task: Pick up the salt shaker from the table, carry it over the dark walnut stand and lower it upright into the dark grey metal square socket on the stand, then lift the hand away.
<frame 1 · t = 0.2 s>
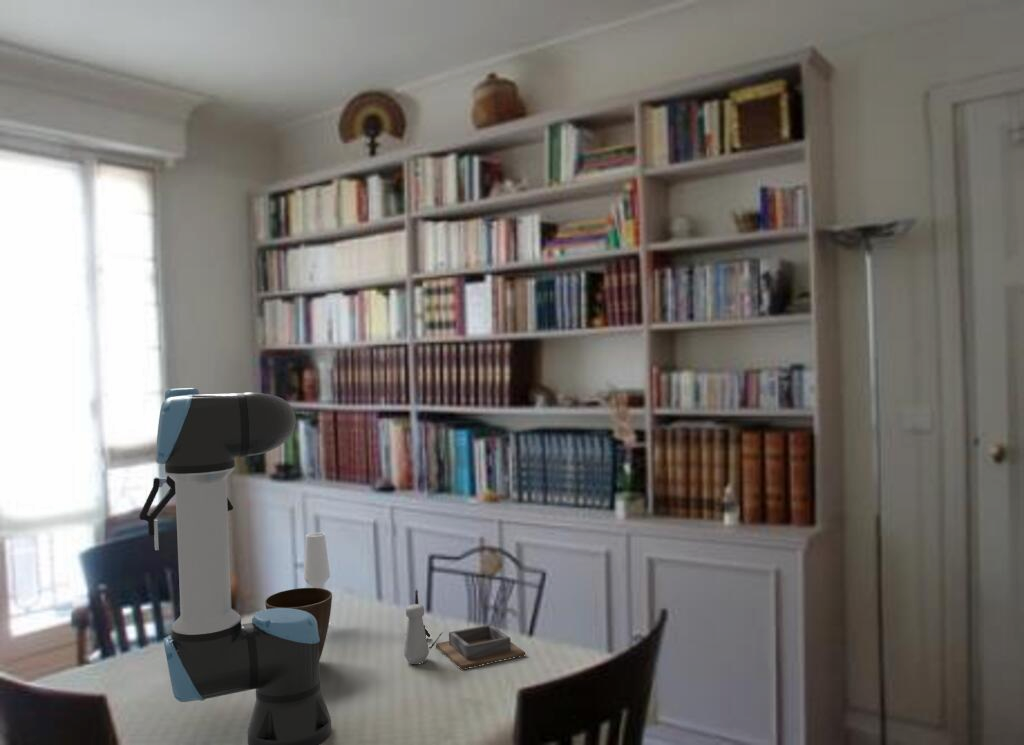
hand: (188, 545, 190), 28 cm above the table, tool pointing down, fingers open, 13 cm apart
champagne flute: (318, 625, 216), on the table
plant pot: (301, 667, 187), on the table
eiffel tower figurine: (419, 640, 204), on the table
teacup with lid: (206, 660, 193), on the table
socket stand: (479, 651, 192), on the table
salt shaker: (416, 662, 188), on the table
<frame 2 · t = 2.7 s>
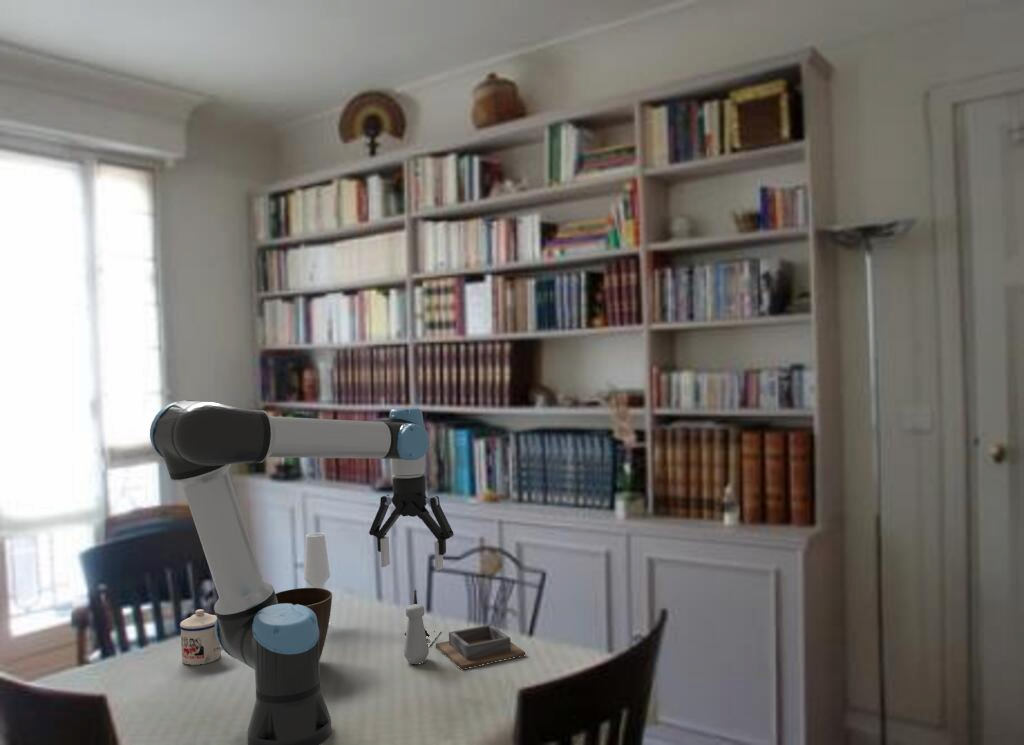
hand: (412, 567, 187), 22 cm above the table, tool pointing down, fingers open, 13 cm apart
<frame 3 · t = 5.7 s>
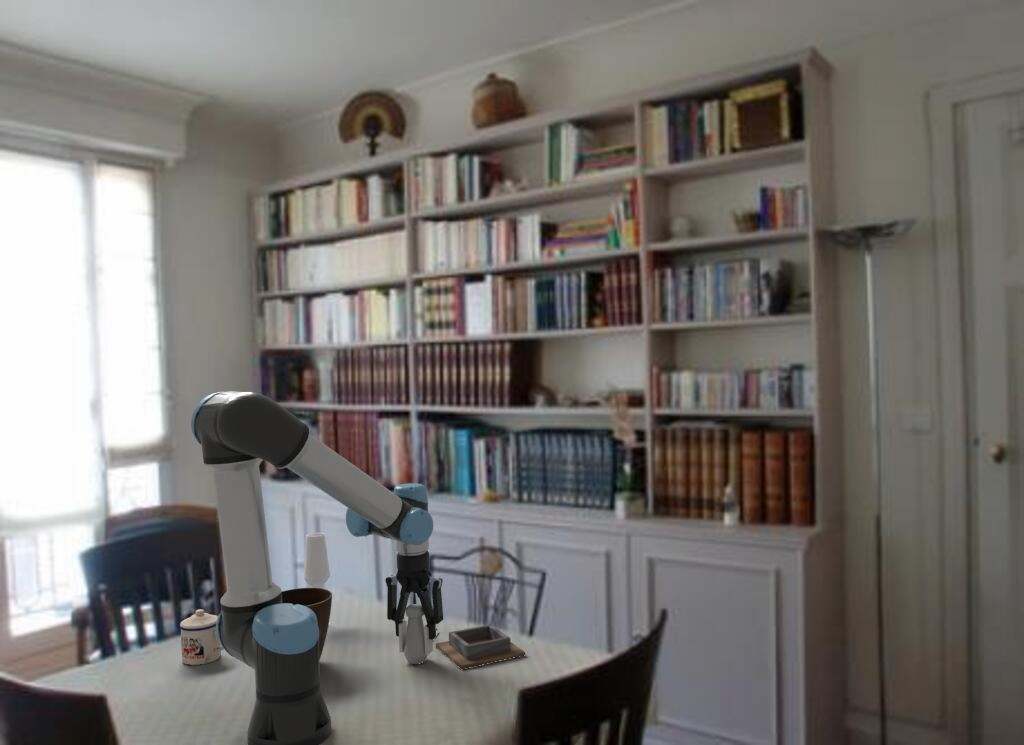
hand: (416, 651, 187), 2 cm above the table, tool pointing down, fingers closed on salt shaker, 6 cm apart
salt shaker: (416, 662, 188), on the table, touching gripper
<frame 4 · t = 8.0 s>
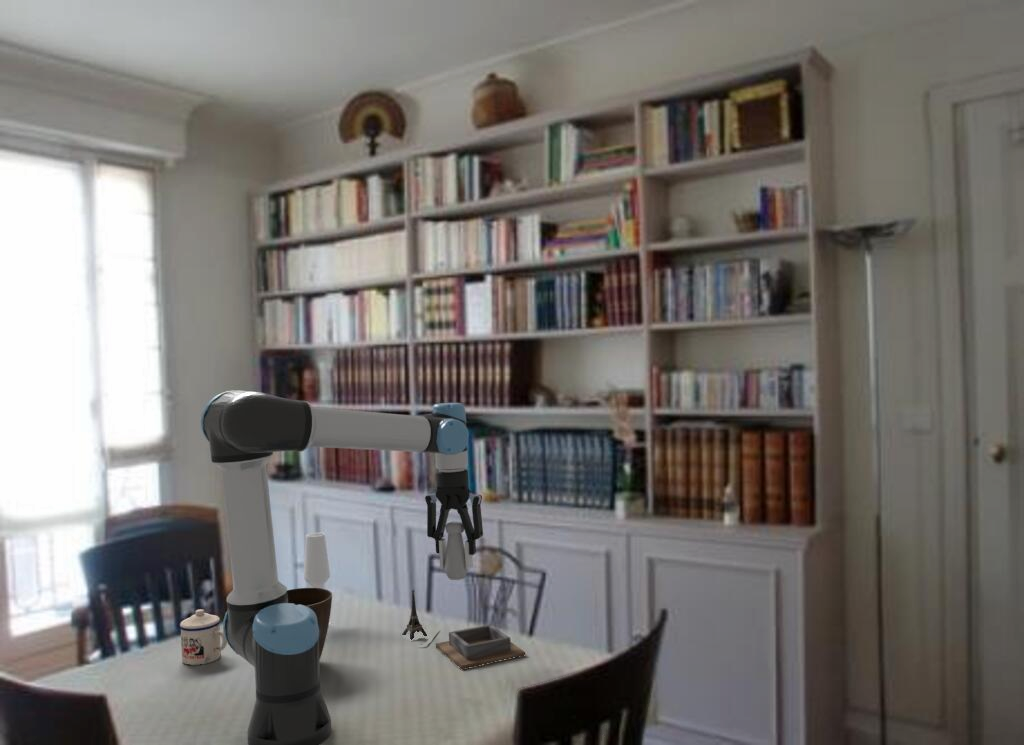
hand: (456, 567, 190), 21 cm above the table, tool pointing down, fingers closed on salt shaker, 6 cm apart
salt shaker: (457, 578, 191), point 18 cm above the table, touching gripper
when the fingers open (5 cm above the table, at t = 11.9 s): salt shaker drops 2 cm, resting on socket stand.
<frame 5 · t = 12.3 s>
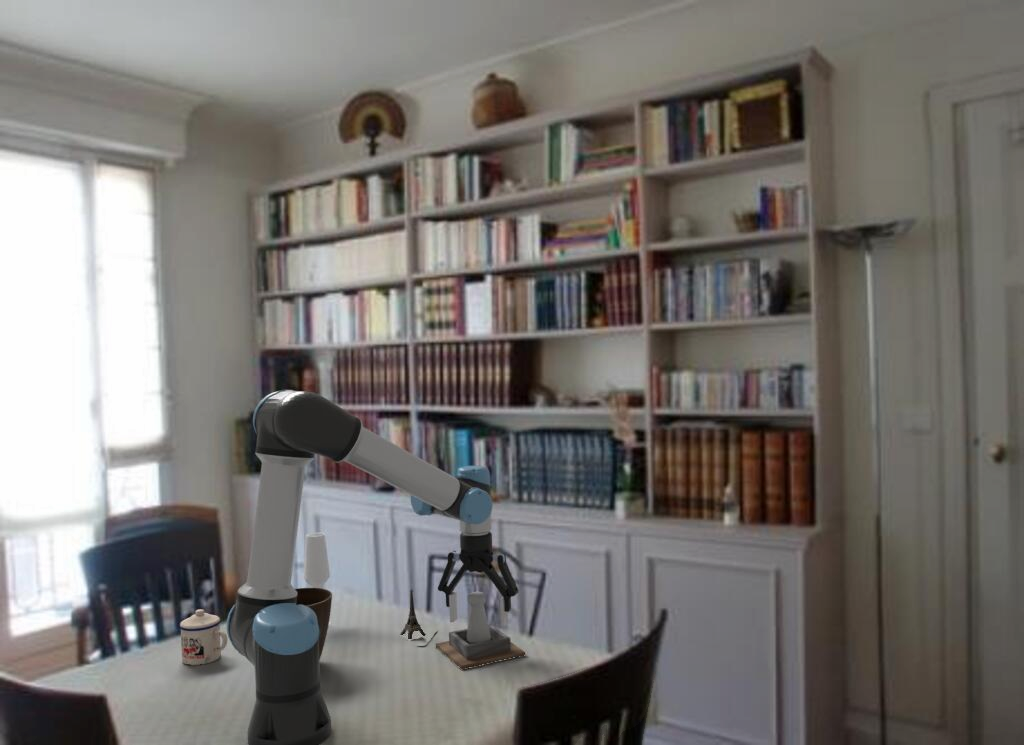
hand: (478, 622, 192), 7 cm above the table, tool pointing down, fingers open, 12 cm apart
salt shaker: (479, 648, 192), point 1 cm above the table, touching socket stand
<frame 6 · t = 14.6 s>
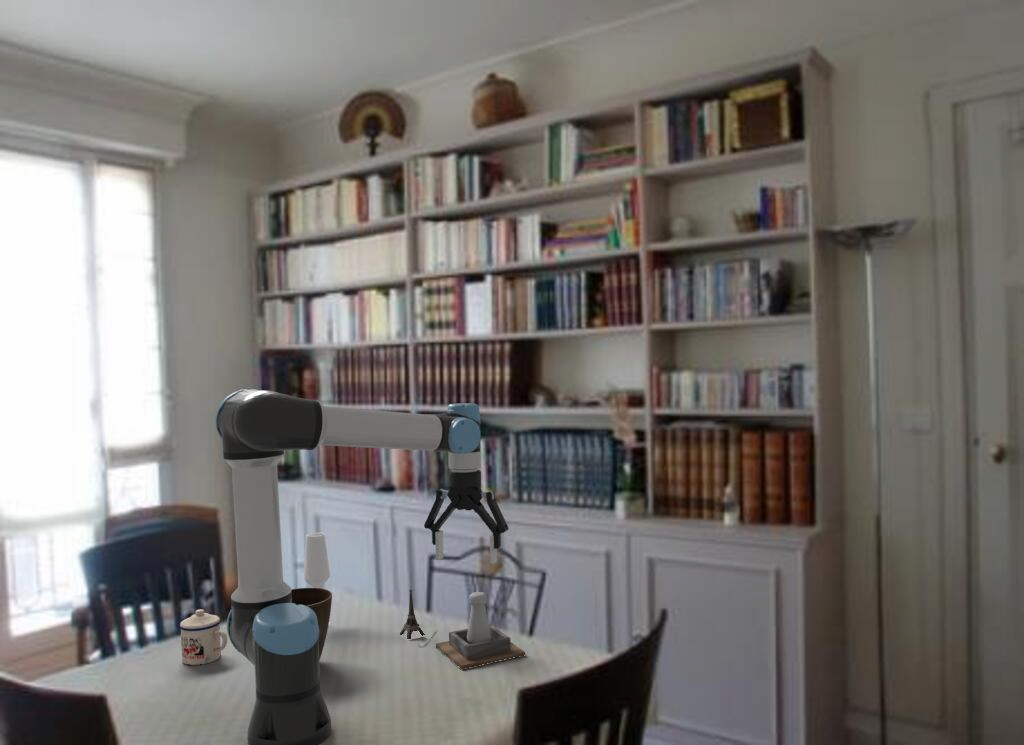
hand: (466, 560, 190), 22 cm above the table, tool pointing down, fingers open, 13 cm apart
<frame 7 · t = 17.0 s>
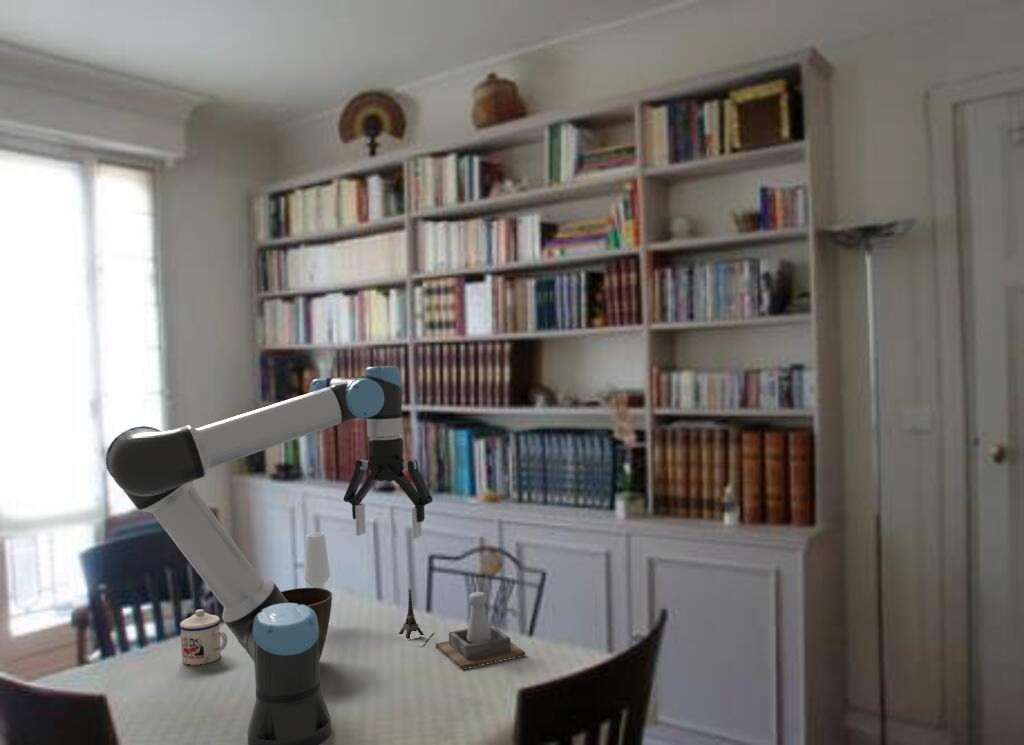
hand: (388, 535, 176), 32 cm above the table, tool pointing down, fingers open, 13 cm apart
at the end: salt shaker 0.0 cm off-centre on the socket stand, point 0.8 cm above the socket stand's base; salt shaker tilted 0°; the gripper is holding nothing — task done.
